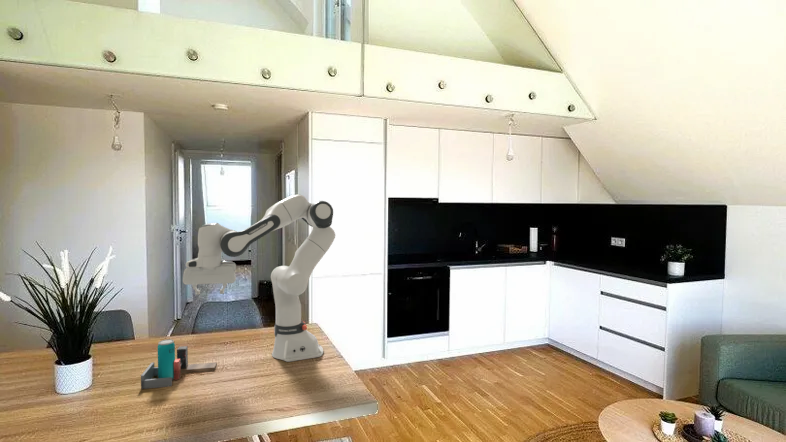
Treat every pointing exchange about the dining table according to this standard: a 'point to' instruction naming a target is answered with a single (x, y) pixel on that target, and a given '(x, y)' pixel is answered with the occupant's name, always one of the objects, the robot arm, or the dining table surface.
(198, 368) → the brown long flat block
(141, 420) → the dining table surface
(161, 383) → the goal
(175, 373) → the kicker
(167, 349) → the beverage can
